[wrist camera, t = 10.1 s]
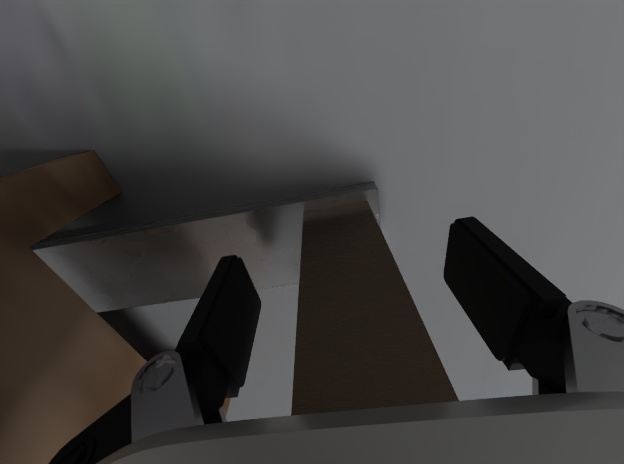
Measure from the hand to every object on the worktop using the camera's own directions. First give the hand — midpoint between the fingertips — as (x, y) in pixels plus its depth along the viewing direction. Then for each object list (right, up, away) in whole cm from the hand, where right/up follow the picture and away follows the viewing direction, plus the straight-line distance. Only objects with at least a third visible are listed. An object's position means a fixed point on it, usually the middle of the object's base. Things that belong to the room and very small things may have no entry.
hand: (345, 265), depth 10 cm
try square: (-10, 0, +4) cm, 11 cm away
